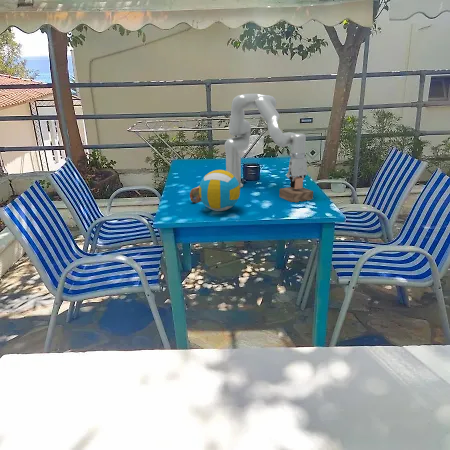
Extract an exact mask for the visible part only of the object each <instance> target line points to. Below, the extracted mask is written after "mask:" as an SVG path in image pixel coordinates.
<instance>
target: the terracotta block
mask: <svg viewBox="0 0 450 450" xmlns="http://www.w3.org/2000/svg"><path fill="white" fill-rule="evenodd" d="M292 178H293V177H292ZM294 181H295V186H294V189H300V188H304V187H303V186H304V185H303V184H304V180H303V178H301V177H299V176H295V179H294ZM290 187H291V186H290ZM291 188H292V187H291Z"/></svg>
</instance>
